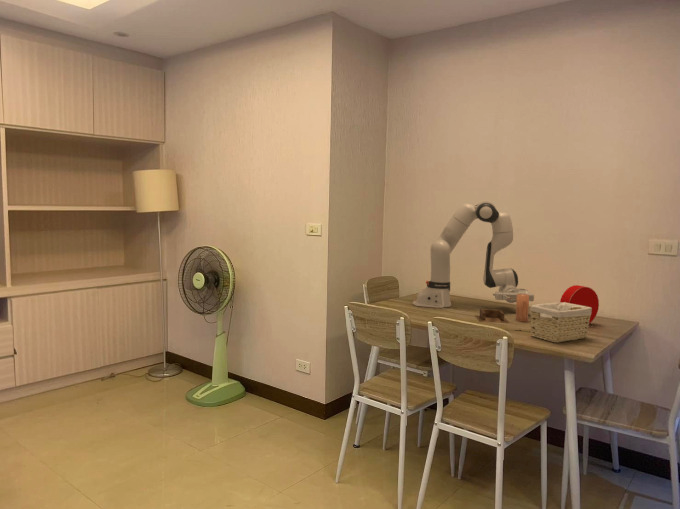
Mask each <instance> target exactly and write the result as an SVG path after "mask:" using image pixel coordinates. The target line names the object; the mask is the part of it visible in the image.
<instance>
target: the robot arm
mask: <svg viewBox="0 0 680 509" xmlns="http://www.w3.org/2000/svg"><path fill="white" fill-rule="evenodd" d="M475 220H478V221H479V220H480V221H481V222H484V223H489V224H491V230H492V237H491V240H490V241H489V242H488V243H487V245H486V253H485V264H484V273H483V276H482V279H483V284H484V286H486V287H487V288H489V289H491V288H497V287H498V291H495V292H494V293H492V296H494V299H495V300H498V301H506V302H507V303H510V304H515V303H516V300H517V294H528V295H529V302H533V301H534V300H535V294H534V293H532V292H531V291H529V290H528V289H525V288H519V287H518V285H519V277H518V273H517V271H515V270H514V269H513V268H511V267H510V268H502V269H494V257H495V255H496V254H497V253H498V252H500V251H502V250H504V249H506V248H508V247H509V246H510V245H511V244H512V243H513V241H514V228H513V222H512V219H511V215H510V214H509V213H507V212H503V211H498V210H497V208H496V206H495V204H494V203H492V202H490V201H482V202H480V203H478V204H476V205H473V204H472V203H468V202H467V203H466V202H465V203H463V204H462V205H461V206H459V208H458V209H457V210H456V211H455V212H454V214H453V215H452V217H451V218H450V220H449V221H448V222H447V223H446V225H445V227H444V228H443V230H442V232H441V233H440V235H439V237H438V238H437V240H435V241H434V242H432V244H431V245H430V280H426V281H425V283H426V287H425V288H424V289H422V290H421V291H419V292H418V293H417V296H416V299H415V300H413V301H412V305H414V306H416V307H424V308H425V307H426V308H437V309H439V308H440V309H443V308H449V307H451V306H452V303H451V295H450V291H451V281H450V280H451V254H452V252H453V250H454V249H455V247H456V246H457V245H458V243H459V242H460V241H461V239H462V237H464V234H465V233H466V231H467V230H468V229H469V228H470V226H471V224H472V223H473V222H474V221H475Z"/></svg>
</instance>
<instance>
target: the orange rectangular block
mask: <svg viewBox="0 0 680 509" xmlns="http://www.w3.org/2000/svg"><path fill="white" fill-rule="evenodd" d="M529 305H530V301H529V295H528V294H517V300H516V302H515V321H516V322H519V323H527V322H529V309H530V308H529V307H530V306H529Z"/></svg>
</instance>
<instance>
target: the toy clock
mask: <svg viewBox="0 0 680 509" xmlns="http://www.w3.org/2000/svg"><path fill="white" fill-rule="evenodd" d="M563 302H565V303H570V304H576V305H581V306H586V307H591V308H592V311H591V317H590V320H589V325H590V324H591V323H592V322H593V321H594V320H595V319H596V316H597V314H598V311H599V307H600V304H599V303H600V300H599V296H598V294H597V292H596V291H595V290H594V289H593V288H591V287H588V286H584V285H583V286H582V285H578V284H577V285H572V286H569V287H568V288H567V289H566V290H565V291H564V292H563V294H562V295H561V298H560V301H559V303H563Z"/></svg>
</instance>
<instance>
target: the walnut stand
mask: <svg viewBox="0 0 680 509" xmlns="http://www.w3.org/2000/svg"><path fill="white" fill-rule="evenodd" d="M474 317H475V318H476V320H477V321H478V322H479V323H498V324H500V323H501V324H511V323H510V321H509V320H508V319H506V317H505V312H503V311H502V310H501V309H492V308H491V309H486V308H479V315H474Z"/></svg>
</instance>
